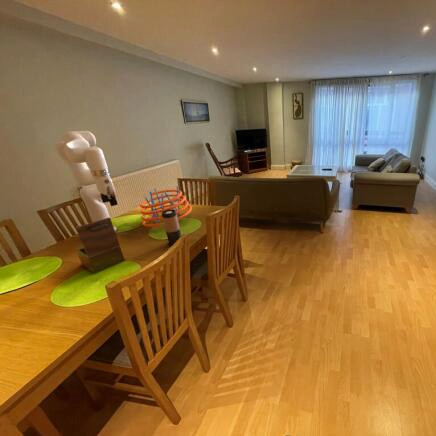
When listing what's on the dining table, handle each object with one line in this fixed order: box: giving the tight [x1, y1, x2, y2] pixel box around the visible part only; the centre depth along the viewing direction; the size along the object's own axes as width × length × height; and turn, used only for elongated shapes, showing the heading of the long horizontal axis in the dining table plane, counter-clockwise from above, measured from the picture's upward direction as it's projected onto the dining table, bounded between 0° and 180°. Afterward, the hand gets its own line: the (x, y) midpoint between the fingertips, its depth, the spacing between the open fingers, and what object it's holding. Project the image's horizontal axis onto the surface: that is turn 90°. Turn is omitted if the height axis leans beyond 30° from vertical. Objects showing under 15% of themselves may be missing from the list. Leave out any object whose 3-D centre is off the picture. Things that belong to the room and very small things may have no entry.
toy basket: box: [139, 185, 193, 228], centre depth 173 cm, size 34×35×24 cm
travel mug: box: [161, 209, 182, 246], centre depth 141 cm, size 8×8×20 cm
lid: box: [75, 217, 121, 257], centre depth 114 cm, size 15×14×5 cm
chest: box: [75, 245, 125, 274], centre depth 124 cm, size 15×14×9 cm
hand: (110, 203), depth 131 cm, fingers open, 9 cm apart
